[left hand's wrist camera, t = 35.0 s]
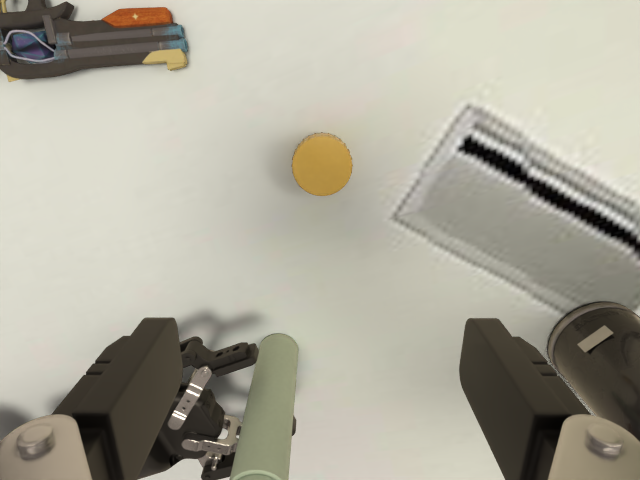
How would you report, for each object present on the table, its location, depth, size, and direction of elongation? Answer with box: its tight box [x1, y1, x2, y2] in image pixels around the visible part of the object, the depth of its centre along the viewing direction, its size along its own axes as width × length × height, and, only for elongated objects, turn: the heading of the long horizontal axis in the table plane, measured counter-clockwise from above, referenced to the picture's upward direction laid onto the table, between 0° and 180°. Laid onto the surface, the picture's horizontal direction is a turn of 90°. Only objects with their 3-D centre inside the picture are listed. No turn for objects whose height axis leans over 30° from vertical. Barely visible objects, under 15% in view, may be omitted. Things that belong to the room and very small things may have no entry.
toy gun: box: [0, 0, 188, 82], centre depth 31 cm, size 3×19×10 cm
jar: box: [230, 334, 298, 480], centre depth 35 cm, size 4×4×18 cm
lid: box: [292, 132, 353, 196], centre depth 35 cm, size 5×5×2 cm
